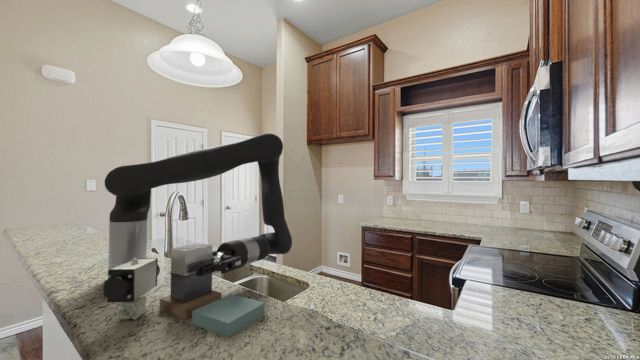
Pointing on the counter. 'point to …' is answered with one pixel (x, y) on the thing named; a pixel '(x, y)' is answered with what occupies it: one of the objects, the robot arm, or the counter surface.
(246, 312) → the stand
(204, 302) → the stand
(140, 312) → the pneumatic valve
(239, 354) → the counter surface
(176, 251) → the block
